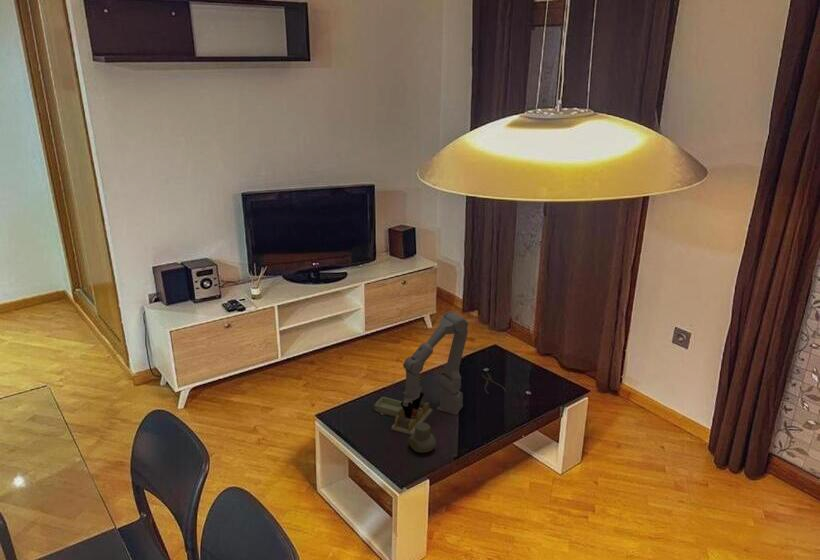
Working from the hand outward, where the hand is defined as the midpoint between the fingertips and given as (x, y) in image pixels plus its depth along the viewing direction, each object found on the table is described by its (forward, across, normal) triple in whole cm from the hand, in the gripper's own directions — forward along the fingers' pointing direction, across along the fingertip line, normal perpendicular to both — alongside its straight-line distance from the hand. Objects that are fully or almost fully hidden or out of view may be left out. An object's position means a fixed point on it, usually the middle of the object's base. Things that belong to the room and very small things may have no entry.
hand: (412, 413), depth 261 cm
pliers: (+4, -44, +19) cm, 48 cm away
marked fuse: (+1, 0, 0) cm, 1 cm away
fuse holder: (+3, 0, 0) cm, 4 cm away
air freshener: (+4, +16, +12) cm, 20 cm away
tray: (+3, -3, -12) cm, 13 cm away
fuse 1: (+1, +7, 0) cm, 7 cm away
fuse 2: (+1, -7, 0) cm, 7 cm away
